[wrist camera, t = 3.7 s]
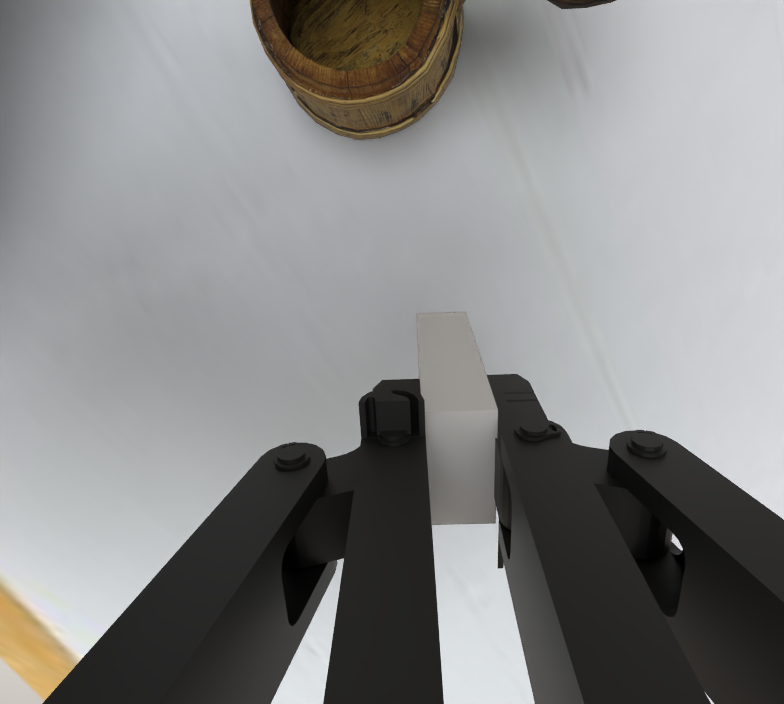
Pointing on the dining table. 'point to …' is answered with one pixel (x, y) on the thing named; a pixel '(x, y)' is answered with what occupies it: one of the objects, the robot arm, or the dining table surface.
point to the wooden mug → (366, 57)
